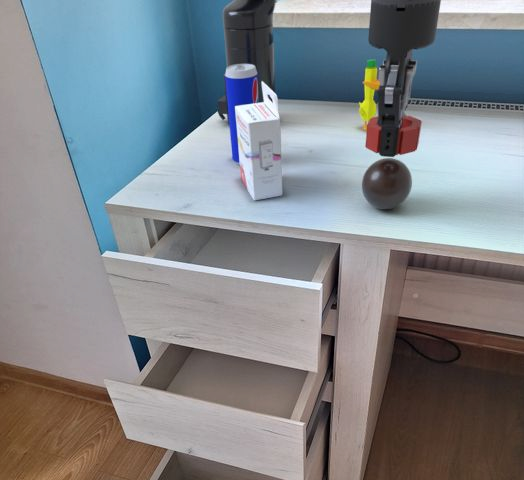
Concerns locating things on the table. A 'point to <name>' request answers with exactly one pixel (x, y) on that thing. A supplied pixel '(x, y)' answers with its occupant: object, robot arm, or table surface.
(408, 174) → the ball
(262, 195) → the ink cartridge box
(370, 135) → the ring
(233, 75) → the beverage can
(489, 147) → the table surface
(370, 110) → the toy figure
